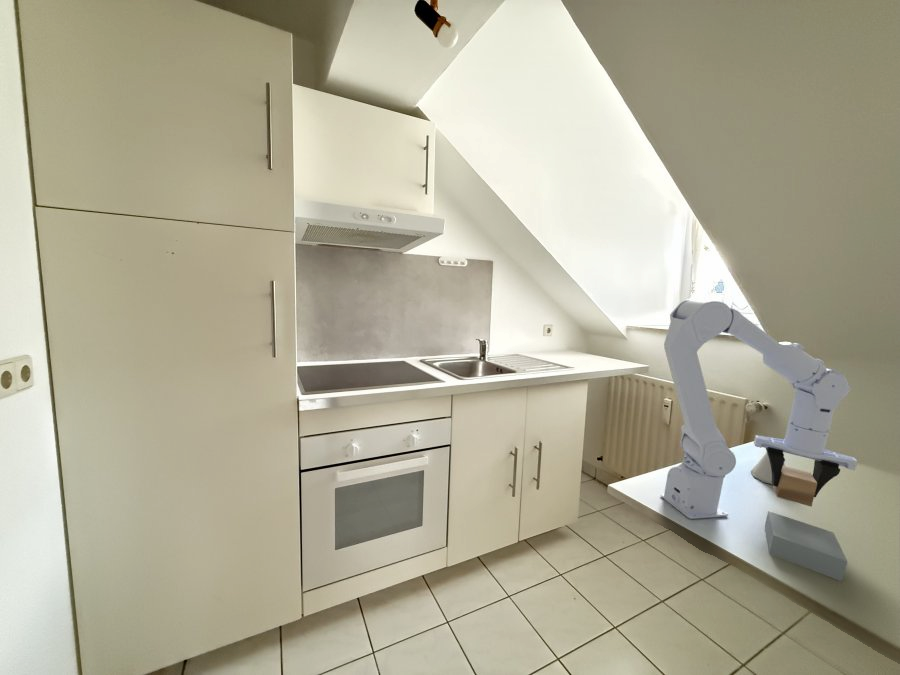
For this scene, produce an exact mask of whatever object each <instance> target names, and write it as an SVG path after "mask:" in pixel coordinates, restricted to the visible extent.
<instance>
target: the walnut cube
mask: <svg viewBox="0 0 900 675" xmlns="http://www.w3.org/2000/svg"><path fill="white" fill-rule="evenodd" d="M772 486H773V485H772ZM816 487H817V482H816V480H815V479H814V477H813V473H812V472H809V471H806V470H801V469H799V468H798V469H797V468H793V467H790V466H783V467H782V470H781V474H780V480H779V484H778V487H776V486H773V487H772V488H773V489H774V492H775V495H776V496H777V497H778V498H780V499H784V500H787V501H791V502H794V503H796V504H800V505H804V506H807V507H811V508H812V506H813V502H814V499H815V497H814V495H815V491H816Z"/></svg>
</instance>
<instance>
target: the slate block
mask: <svg viewBox="0 0 900 675" xmlns="http://www.w3.org/2000/svg"><path fill="white" fill-rule="evenodd" d="M764 527H765V529H764V534H765V533H766V534H765V538H766V544H767V549H768V553H769V555H772V556H774V557H776V558H779V559H782V560H784V561H787V562H790V563H793V564H795V565H798V566H800V567H802V568H806V569H809V570H811V571H813V572H816V573H818V574H822V575H824V576H827V577H829V578H831V579H832V578H833V579H834V580H837V581H839V582H843V579H844V575H845V572H846V568H847V565H848V559H847V558H846V555H845V554H844V553H845V552H844V551H843V549H842V547H841V545H840V543H839V540H838V538H837V537H836V534H835V532H833V531H831V530H828V529H824V528H821V527H818V526H815V525H812V524H809V523H806V522H804V521H803V522H802V521H799V520H796V519H794V518H791V517H788V516H784V515H781V514H779V513H776V512H774V511H773V512H772V511H770V510H769V511H767V514H766V520H765V524H764Z"/></svg>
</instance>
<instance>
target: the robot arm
mask: <svg viewBox="0 0 900 675" xmlns="http://www.w3.org/2000/svg"><path fill="white" fill-rule="evenodd" d="M669 319H670V320H669V321H670V323H669V325H668V326H669V327H668V329H667V332H666V337H665V339H664V342H663V344H664V345H663V346H664V352H665V357H666V359H667V363H668V368H669V371H670V374H671V377H672V382H673V385H674V389H675V394H676V396H677V401H678V403H679V408H680V411H681V416H682V418H683V423H684V424H683V425H681V427H680V429H681V437H680V441H679V442H680V448H681V449H682V451H683V452H684V454H683V455H684V456H683V459H682V462H681V463H680V464H679V465H676V466H674V467H672V468H670V469H669V470H668V473H667V477H666V482H665V486H664V487H665V488H664V493H661V494H660V497H661V498H662V499H664V500H665V501H666V502H667V503H669V504H670V505H671V506H673V507H674V508H675V509H677V511H679V512H680V513H682V515H683V516H685V517H686V518H688V519H689V520H693V519H694V520H695V519H706V518H708V519H709V518H720V517H721V518H722V517H728V516H729V513H728V512H726V511H725V510H724V509H722V508H720V507H719V503H720V499H721V494H722V488H723V484H724V479H725V478H726V475H728V474H730V473H731V472H732V471H733V470H734V468H735V467H736V463H737V459H736V455H735V453H734V452H733V451H732V450H731V449H730V448H729V447H728V444H727V441H726V439H725V437H724V436H723V434H722V433H721V431H720V430H719V428H718V426H717V423H716V421H715V418H714V413H713V409H712V406H711V401H710V398H709V394H708V390H707V386H706V382H705V379H704V376H703V371H702V368H701V364H700V360H699V355H698V351H699V350H700V349H701V348H702V347H703V346H704V344H706V343H708V342H710V340H712V339H714V338H715V337H717V336H718V335H720V334H721V333H724V334H729V335H731V336H733V337H735V338H736V339H738V340H739V341H741V342H742V343H744V344H745V345H747V346H749V347H750V348H752V349H753V350H755V351H757V352H758V353H760V354H762V361H763V364H764V365H766V366H767V367H768V368H770V369H771V370H773V371H774V372H775V373H777V374H779V375H780V376H781V377H783V378H784V379H786V380H787V381H789V383H790V386H791V387H792V388H793V389H795V392H794V398H793V402H792V406H791V410H790V414H789V418H788V422H787V427H786V431H785V432H786V433H785V436H784V439H781V438H774V437H770V436H769V437H768V436H763V435H757V434H755V436H754V441H753V444H754V446H755V447H757V448H764V449H765V451H766V452H767V454H768V457H769V460H770V465H771V471H772V484H771V485H772V486H776V487H778V484H779V480H780V474H781V470H782V467H783V464H784V465H785V462H786V458H785V454H790V455H794V456H798V457H802V458H806V459H809V460H810V459H811V460H814V461H813V462H814V463H813V464H814V465H813V471H812V476H813V477H814V479H815V480H816V482H817V487H816V491H815V495H814V498H816V497H817V496H818V494H819V492H820V491H821V490H822V488H824V486H825V485H826V484H828V483H829V481H831V480H832V479H833V478H835V477H837V476H838V475H839V474H840V472H841V469H840V467H844V468H846V469H848V470H851V471H855V470H856V468H857V464H858V460H857V459H856V458H855V457H854V456H850V455H846V454H842V453H838V452H835V451H832V450H829V449H825V448H826V445H827V440H828V437H829V433H830V430H831V426H832V425H831V424H832V423H833V422H832V421H833V417H834V415H835V414H834V413H835V411H836V409H837V408H839V405H840V402H841V400H842V399H844V398H845V397H846V396H847V395H849V393H850V391H851V389H852V387H851V386H849V381H848V380H847V377H846V376H845V375H844V374H843V373H842V372H840V371H837V370H835V369H831V368H827V367H826V365H825V363H826V362H824V361H823V360H822V359H819V358H814V357H813V356H811V355H810V354H808V353H807V352H806V351H804V349H805V347H804V345H802V344H801V343H796V342H793V343H792V342H790V341H781V342H778V341H777V340H776V339H775V338H773V337H772V336H770V335H769V334H768V333H766V332H765V331H764V330H762V328H760V327H758V325H756V324H755V323H753V322H752V321H751V320H749V319H748V318H747V317H746V316H744V314H742V313H741V312H740V311H739V310H737V309H735V308H733V307H729V305H727V303H725V302H723V301H719V300H703V299H697V298H689V299H686V300H683V301H681V302H680V303H679V304H677V306H676V307H675V308H674V309H673V310H672V312H670V313H669ZM784 453H785V454H784ZM839 466H840V467H839Z"/></svg>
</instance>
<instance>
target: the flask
mask: <svg viewBox="0 0 900 675" xmlns="http://www.w3.org/2000/svg"><path fill="white" fill-rule="evenodd" d="M783 466H785V463H784V464H783ZM750 472H751V474H752V476H753V477H754V478H756V479H757V480H759V481H761V482H762V483H766V484H770V485H773V484H772V471H771V465H770V460H769V457H768V454H767V451H766V452H765V453H764V455H763V456H762V457H761V459H760V460H759V461H758V462H757V463H756V464H755V466H754V467H752V469H751V470H750Z"/></svg>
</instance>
